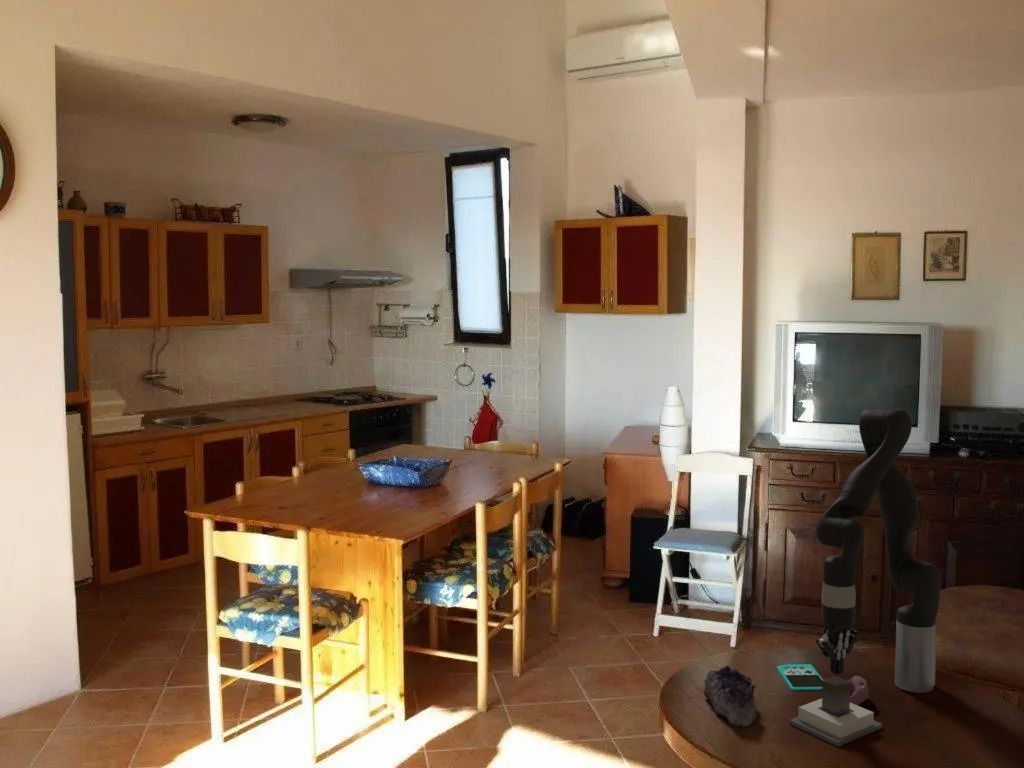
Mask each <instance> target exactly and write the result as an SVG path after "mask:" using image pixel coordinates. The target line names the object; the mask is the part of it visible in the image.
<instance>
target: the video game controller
mask: <svg viewBox="0 0 1024 768" xmlns="http://www.w3.org/2000/svg"><path fill="white" fill-rule="evenodd" d="M848 681H849V682H850V693H851V695H850V703H852V704H855V705H857V706H860V704H862V703H863V702H865V701H866V699H869V697H870V695H869V694H870V693H869V691H870V690H869V689H868V683H867V680H866V679H865V678H863V677H861V676H858V675H854V676H852V677H851V678H850V679H849V680H848Z"/></svg>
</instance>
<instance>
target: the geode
mask: <svg viewBox="0 0 1024 768" xmlns="http://www.w3.org/2000/svg"><path fill="white" fill-rule="evenodd" d="M703 681H704V690H703V695H704V696H705V698H706V699H708V701H709V702H711V707H712V708H713V710H714V713H715V715H717V716H720V717H723V718H725V719H726V720H727V721H728V724H729V726H730V727H733V728H734V727H735V728H739V729H745V730H746V729H749V728H750V727H751V726H752V725H753V724H754V723H755V722H756V721H757V712H756V703H755V696H754V692H755V688H756V684H753V683H752V682H753V681H752V678H751V676H750V677H748V676H747V675H745V674H742V673H741V672H740V671H738V670H737V668H734V669H733V668H731V667H730V666H729V665H726V666H724V667H721V668H720V669H718V670H709V671H708V672H707V674H706V677H705V679H704V680H703Z"/></svg>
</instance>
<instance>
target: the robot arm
mask: <svg viewBox="0 0 1024 768" xmlns="http://www.w3.org/2000/svg"><path fill="white" fill-rule="evenodd" d="M858 421H859V422H858V423H859V424H858V425H859V426H858V429H859V434H860V438H861V439H860V440H861V442H862V446H863V448H864V451H865V455H866V460H865V461H863V462H862V463H861V464H859V466H857V467H856V468H855V469H854V470H852V471H851V473H850V474H849V475H848V477H847V478H846V480H845V482H844V484H843V487H842V489H841V491H840V493H839V495H838V497H837V499H835V501H834V502H833V503H832V504H831V506H829V508H828V509H827V510H826V511H825V512H824V513H823V514H822V515H821V517H820V518H819V520H818V522H817V524H816V529H815V535H816V540H818V542H819V543H820V544H822V545H823V546H828V547H832V548H838V549H842V554H841V555H829V556H826V557H825V558H824V560H823V569H822V570H823V572H822V574H823V575H822V580H823V581H822V587H821V604H820V605H821V606H820V608H821V613H820V614H821V615H820V618H821V620H822V622H823V624H824V627H823V630H822V632H823V635H822V636H821V638H820V637H817V638H816V640H815V643H816V645H817V646H818V648H819V649H820V651H821V653H822V654H823V656H824V657H826V658H829V660H830V669H829V671H830V672H831V674H833V675H836V676H837V675H841V674H843V673H844V665H845V660H844V659H845V658H846V655H849V654H851V651H852V650H853V647H854V645H855V642H856V641H857V638H858V636H859V634H860V633H859V630H858V629H857V630H856V629H854V628H853V625H854V623H855V622H856V603H857V602H856V596H857V595H856V594H857V593H856V592H857V591H856V567H857V562H858V558H859V556H860V555H859V554H860V552H861V548H862V546H863V544H864V539H865V529H864V527H863V525H862V523H861V522H860V521H859V520H856V519H854V518H861V517H862V518H863V517H864V516H865V515H866V513H868V510H869V508H870V505H871V503H872V501H873V499H874V496H875V494H876V499H877V503H878V508H879V513H880V517H881V520H882V525H883V531H884V536H885V542H886V548H887V550H886V551H887V558H888V568H889V575H890V580H891V584H892V585H893V588H895V589H896V590H897V591H898V592H900V593H903V594H906V595H908V596H909V595H910V596H913V600H912V604H908V605H903V606H899V608H898V609H897V611H896V628H895V658H894V660H895V664H894V685H895V686H896V687H897V688H899V689H900V690H903V691H906V692H910V693H917V694H925V693H929V692H932V691H933V690H934V686H935V685H936V660H937V650H936V649H935V648H936V646H935V645H936V618H937V616H938V613H939V608H940V598H941V586H942V575H941V571H940V569H939V567H938V566H937V565H935V564H934V563H930V562H927V561H924V560H920V559H917V558H915V557H914V556H913V553H912V549H911V536H912V534H913V532H914V529H915V528H916V526H917V524H918V522H919V518H920V508H919V507H920V506H919V502H918V497H917V492H916V489H915V487H914V485H913V484H912V483H911V482H912V481H910V480H909V479H908V477H907V476H906V474H904V473H903V471H902V470H901V469H900V467H898V465H896V463H895V461H896V459H897V458H898V457H899V455H900V453H901V452H902V450H903V449H904V448H905V446H906V445H907V443H908V441H909V439H910V437H911V434H912V420H911V417H910V415H909V413H908V412H907V411H905V410H904V409H900V408H876V407H874V408H873V407H872V408H866V409H864V410H863V411H862V412H861V413H860V416H859V420H858Z"/></svg>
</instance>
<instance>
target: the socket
mask: <svg viewBox="0 0 1024 768" xmlns="http://www.w3.org/2000/svg"><path fill="white" fill-rule="evenodd" d="M797 713H798V716H795V717H793V718H791V719H788V720H789V721H788V723H789V724H788V725H791V726H794V727H795V728H797V729H799V730H801V731H803V732H805V733H808V734H810V735H812V736H814V737H817V738H819V739H821V740H823V741H825V742H827V743H830V744H832V745H834V746H836V747H841V746H844V745H845V744H848V743H851V742H853V741H855V740H857V738H858V739H860V738H862V737H865V736H867V735H869V733H870V734H871V732H872V733H874V732H876V730H877V731H879V730H881V729H883V723H881V722H879V721H876V720H874V716H875V715H874V713H875V712H874V711H871V710H869V709H866V708H864V707H862V706H860V705H858V706H857V705H855V704H852V703H850V712H849V714H846V715H844V716H841V717H839V718H838V717H836V716H833V715H831V714H829V713H826V712H824V711H822V698H819V699H817V700H814V701H811V702H808V703H806V704H803V705H801V706H798V712H797ZM878 729H879V730H878ZM866 734H867V735H866ZM864 735H865V736H864ZM861 736H862V737H861ZM859 737H860V738H859Z"/></svg>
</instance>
